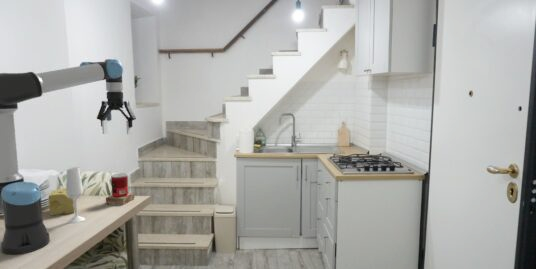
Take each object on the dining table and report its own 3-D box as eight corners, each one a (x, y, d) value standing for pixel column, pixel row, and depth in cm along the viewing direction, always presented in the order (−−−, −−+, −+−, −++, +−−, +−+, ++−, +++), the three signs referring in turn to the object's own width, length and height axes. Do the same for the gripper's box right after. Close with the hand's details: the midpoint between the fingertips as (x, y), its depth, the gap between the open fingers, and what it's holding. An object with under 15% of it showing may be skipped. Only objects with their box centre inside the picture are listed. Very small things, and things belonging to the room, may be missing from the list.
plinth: (123, 204, 176) (123, 198, 176) (106, 203, 178) (105, 197, 178) (134, 198, 186) (134, 193, 186) (118, 197, 188) (117, 191, 188)
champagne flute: (65, 221, 154) (60, 169, 151) (78, 216, 160) (75, 166, 157) (74, 223, 151) (70, 170, 148) (88, 218, 157) (84, 167, 154)
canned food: (130, 193, 185) (129, 173, 184) (123, 197, 178) (122, 177, 176) (117, 192, 186) (116, 172, 185) (109, 197, 178) (108, 176, 177)
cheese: (74, 213, 165) (73, 193, 163) (48, 216, 161) (46, 195, 159) (77, 206, 174) (76, 187, 173) (52, 209, 170) (51, 189, 169)
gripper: (141, 91, 172) (143, 133, 174) (97, 91, 176) (100, 132, 179) (133, 91, 164) (135, 135, 167) (87, 91, 169) (90, 133, 172)
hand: (117, 133), depth 173 cm, fingers open, 13 cm apart
